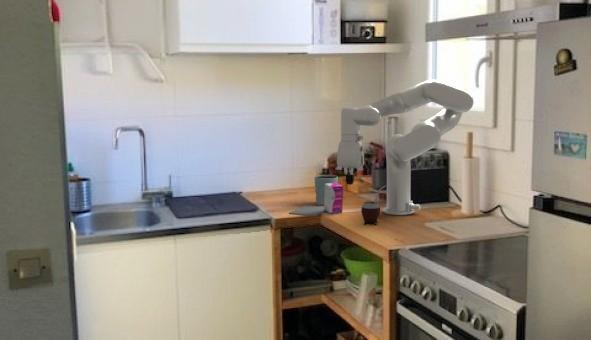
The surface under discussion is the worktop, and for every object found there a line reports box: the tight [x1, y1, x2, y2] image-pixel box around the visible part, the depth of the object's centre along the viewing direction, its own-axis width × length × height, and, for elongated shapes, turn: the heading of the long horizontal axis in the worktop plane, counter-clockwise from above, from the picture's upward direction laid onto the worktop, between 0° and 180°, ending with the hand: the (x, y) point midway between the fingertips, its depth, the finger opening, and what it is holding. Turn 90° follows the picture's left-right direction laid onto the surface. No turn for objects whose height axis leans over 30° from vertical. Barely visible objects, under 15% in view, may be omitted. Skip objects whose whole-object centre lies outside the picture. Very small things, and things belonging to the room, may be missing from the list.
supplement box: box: [323, 182, 344, 215], centre depth 264 cm, size 6×6×12 cm
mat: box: [288, 205, 326, 217], centre depth 268 cm, size 12×15×1 cm
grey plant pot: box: [313, 174, 339, 207], centre depth 281 cm, size 10×10×12 cm
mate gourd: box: [360, 184, 387, 226], centre depth 244 cm, size 8×8×15 cm
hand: (349, 183), depth 260 cm, fingers closed
